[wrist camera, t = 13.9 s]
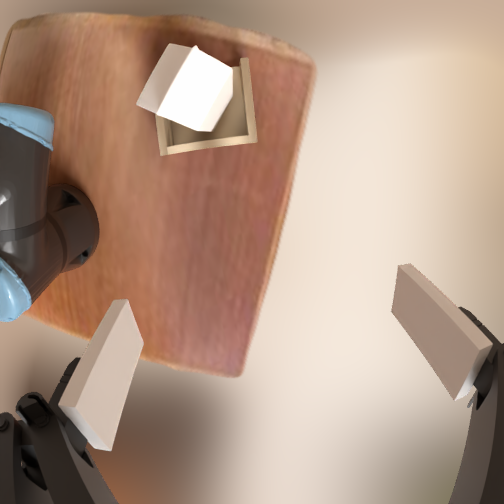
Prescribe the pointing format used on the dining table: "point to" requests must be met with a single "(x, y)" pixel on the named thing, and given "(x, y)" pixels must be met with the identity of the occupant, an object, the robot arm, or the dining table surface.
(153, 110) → the milk
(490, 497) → the robot arm
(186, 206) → the dining table surface
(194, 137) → the u rest
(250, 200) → the dining table surface
